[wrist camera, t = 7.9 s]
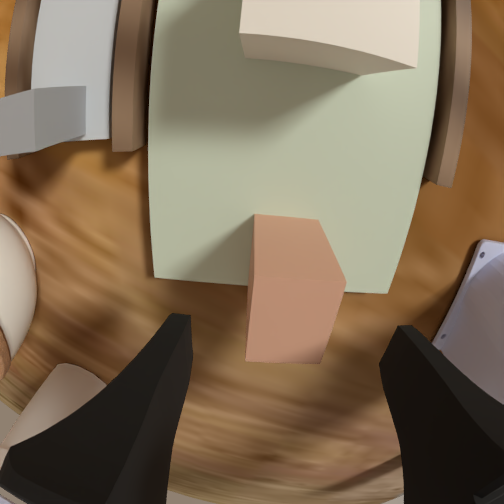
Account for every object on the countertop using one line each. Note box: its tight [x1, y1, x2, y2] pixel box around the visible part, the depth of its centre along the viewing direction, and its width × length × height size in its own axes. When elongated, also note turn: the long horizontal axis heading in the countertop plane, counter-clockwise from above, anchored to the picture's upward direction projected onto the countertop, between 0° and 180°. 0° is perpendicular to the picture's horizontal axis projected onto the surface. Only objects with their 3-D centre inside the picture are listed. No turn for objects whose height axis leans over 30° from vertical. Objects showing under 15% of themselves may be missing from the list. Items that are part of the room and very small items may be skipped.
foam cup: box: [0, 363, 107, 469], centre depth 17 cm, size 10×9×13 cm
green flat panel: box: [148, 0, 441, 364], centre depth 9 cm, size 20×13×6 cm, turn 175°
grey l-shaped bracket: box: [0, 0, 122, 156], centre depth 8 cm, size 12×5×5 cm, turn 175°
